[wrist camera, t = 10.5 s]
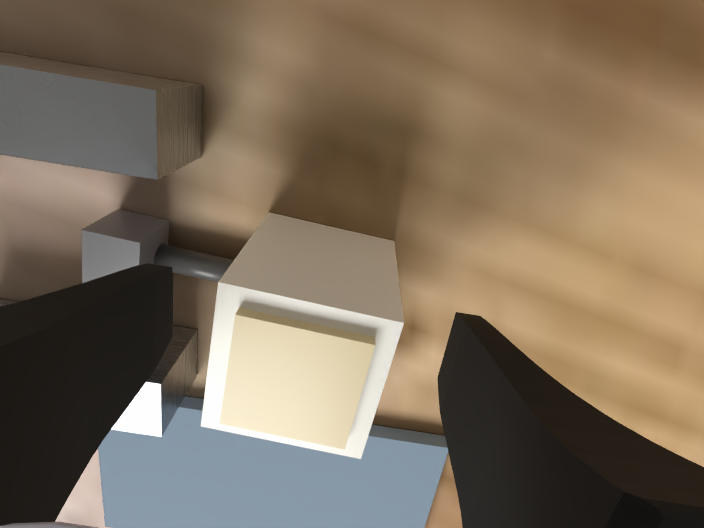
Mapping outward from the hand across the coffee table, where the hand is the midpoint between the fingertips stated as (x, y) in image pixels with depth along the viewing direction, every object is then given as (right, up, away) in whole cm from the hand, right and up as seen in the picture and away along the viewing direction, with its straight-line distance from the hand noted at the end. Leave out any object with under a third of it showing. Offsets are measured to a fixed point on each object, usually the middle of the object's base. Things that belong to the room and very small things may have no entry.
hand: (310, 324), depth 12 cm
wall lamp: (-2, +1, +3) cm, 4 cm away
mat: (-2, -7, +7) cm, 10 cm away
